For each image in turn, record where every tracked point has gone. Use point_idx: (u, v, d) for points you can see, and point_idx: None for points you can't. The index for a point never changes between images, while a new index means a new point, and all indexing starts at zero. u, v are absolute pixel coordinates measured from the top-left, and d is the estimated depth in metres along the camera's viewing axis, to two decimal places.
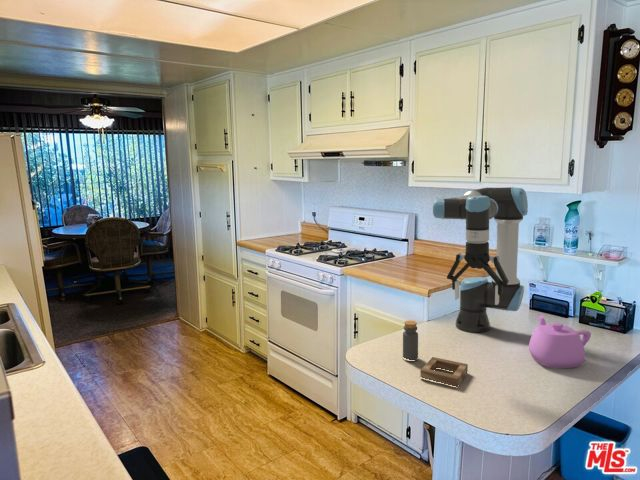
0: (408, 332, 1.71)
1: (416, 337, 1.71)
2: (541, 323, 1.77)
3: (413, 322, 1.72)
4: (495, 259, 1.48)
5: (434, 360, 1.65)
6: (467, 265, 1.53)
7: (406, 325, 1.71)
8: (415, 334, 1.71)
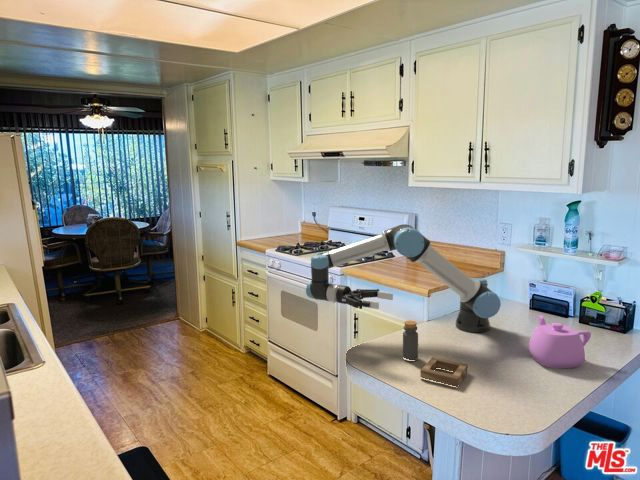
0: (408, 332, 1.71)
1: (416, 337, 1.71)
2: (541, 323, 1.77)
3: (413, 322, 1.72)
4: (343, 302, 1.80)
5: (434, 360, 1.65)
6: None
7: (406, 325, 1.71)
8: (415, 334, 1.71)
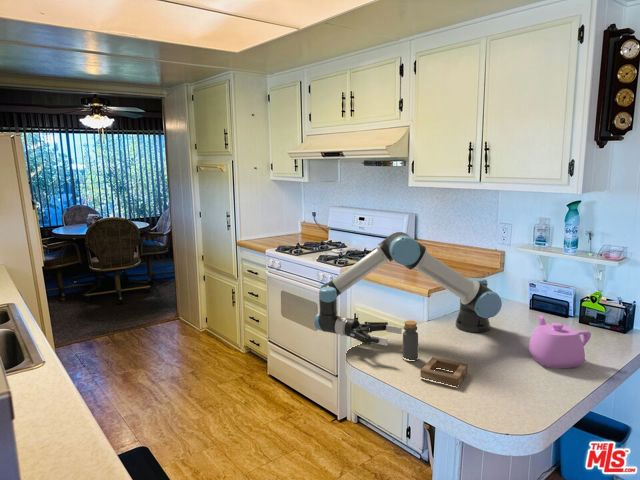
0: (408, 332, 1.71)
1: (416, 337, 1.71)
2: (541, 323, 1.77)
3: (413, 322, 1.72)
4: None
5: (434, 360, 1.65)
6: None
7: (406, 325, 1.71)
8: (415, 334, 1.71)
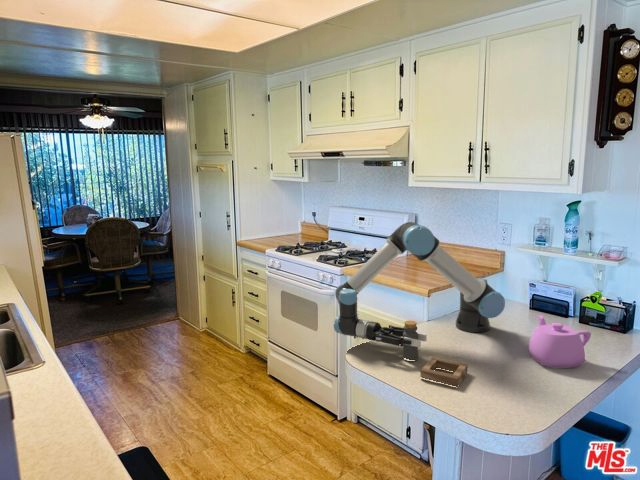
0: (408, 332, 1.71)
1: (416, 337, 1.71)
2: (541, 323, 1.77)
3: (413, 322, 1.72)
4: None
5: (434, 360, 1.65)
6: None
7: (406, 325, 1.71)
8: (415, 334, 1.71)
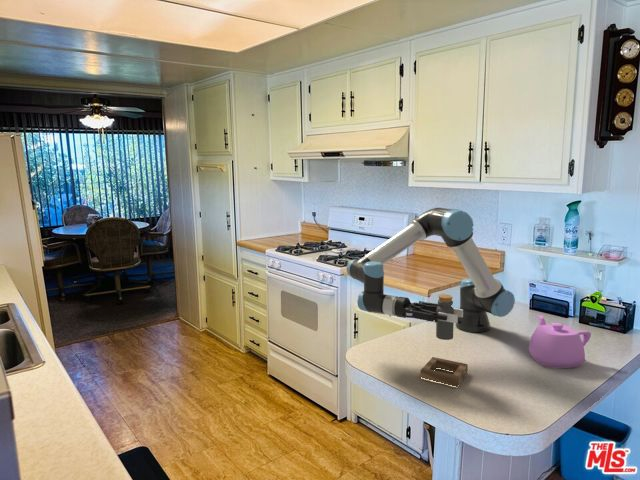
0: (443, 307, 1.54)
1: (452, 312, 1.53)
2: (541, 323, 1.77)
3: (448, 296, 1.54)
4: None
5: (434, 360, 1.65)
6: None
7: (441, 299, 1.54)
8: (451, 309, 1.53)
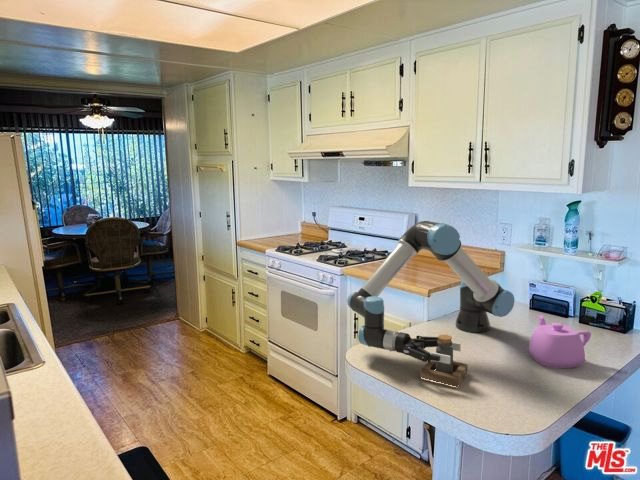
0: (442, 347, 1.56)
1: (451, 353, 1.56)
2: (541, 323, 1.77)
3: (448, 336, 1.57)
4: None
5: None
6: None
7: (440, 340, 1.56)
8: (450, 350, 1.56)
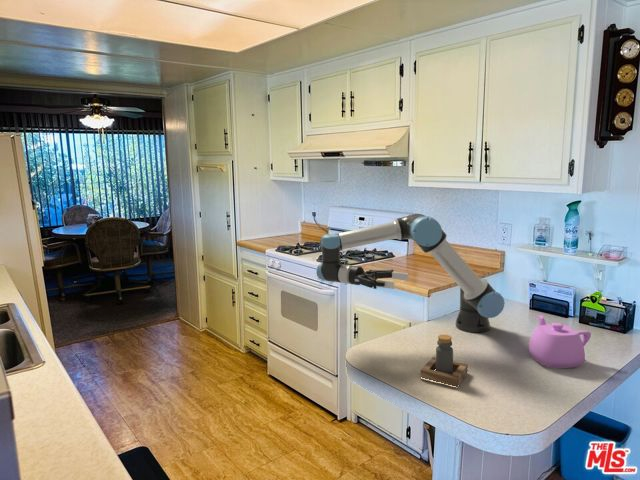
0: (442, 347, 1.56)
1: (451, 353, 1.56)
2: (541, 323, 1.77)
3: (448, 336, 1.57)
4: (356, 283, 1.72)
5: (434, 360, 1.65)
6: None
7: (440, 340, 1.56)
8: (450, 350, 1.56)
